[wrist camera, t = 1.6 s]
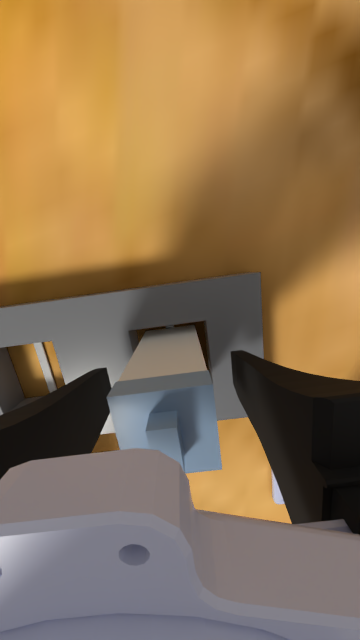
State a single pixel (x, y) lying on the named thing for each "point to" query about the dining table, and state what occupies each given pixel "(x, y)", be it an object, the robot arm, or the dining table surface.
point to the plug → (168, 400)
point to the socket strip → (135, 332)
